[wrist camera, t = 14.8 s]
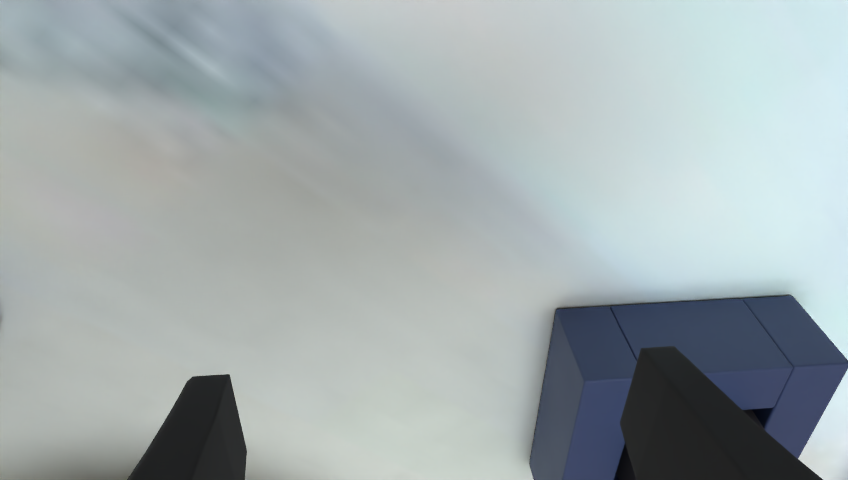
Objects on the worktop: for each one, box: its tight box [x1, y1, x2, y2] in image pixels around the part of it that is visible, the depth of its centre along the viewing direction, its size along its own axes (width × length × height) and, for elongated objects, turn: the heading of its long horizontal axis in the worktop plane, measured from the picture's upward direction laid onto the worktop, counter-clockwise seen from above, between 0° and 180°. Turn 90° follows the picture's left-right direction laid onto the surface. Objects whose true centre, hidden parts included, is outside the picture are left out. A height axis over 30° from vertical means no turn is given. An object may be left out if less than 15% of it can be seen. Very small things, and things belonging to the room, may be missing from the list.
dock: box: [530, 296, 848, 480], centre depth 25 cm, size 9×9×4 cm
